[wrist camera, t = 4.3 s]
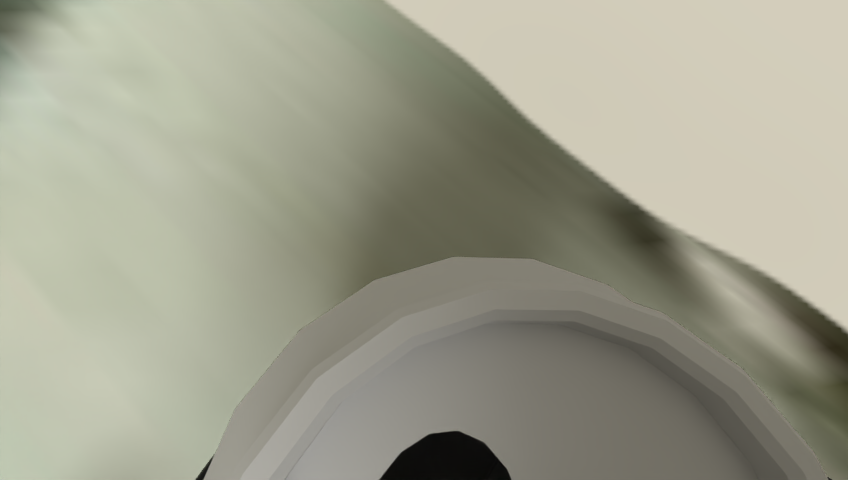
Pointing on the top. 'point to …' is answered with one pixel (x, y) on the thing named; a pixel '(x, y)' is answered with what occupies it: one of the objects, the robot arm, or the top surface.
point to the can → (504, 389)
